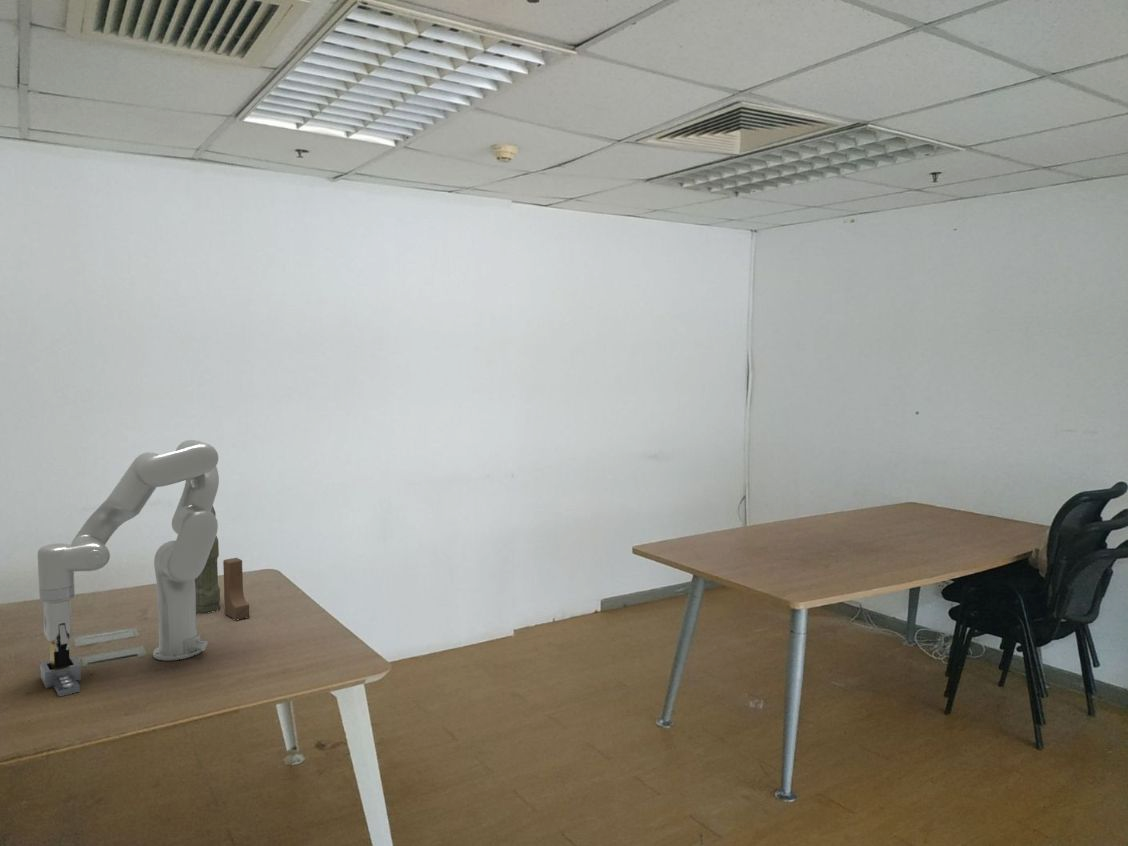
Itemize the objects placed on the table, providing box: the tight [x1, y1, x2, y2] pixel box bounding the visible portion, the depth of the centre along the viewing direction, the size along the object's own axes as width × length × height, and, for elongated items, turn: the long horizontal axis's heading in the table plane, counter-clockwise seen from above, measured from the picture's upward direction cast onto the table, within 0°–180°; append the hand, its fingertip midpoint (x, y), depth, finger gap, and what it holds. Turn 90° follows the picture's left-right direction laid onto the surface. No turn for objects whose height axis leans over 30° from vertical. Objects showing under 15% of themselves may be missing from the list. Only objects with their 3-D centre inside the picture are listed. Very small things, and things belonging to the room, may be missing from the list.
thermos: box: [195, 505, 221, 614], centre depth 252 cm, size 9×12×35 cm
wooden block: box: [222, 557, 250, 621], centre depth 247 cm, size 9×4×18 cm, turn 45°
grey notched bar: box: [39, 656, 82, 698], centre depth 198 cm, size 24×8×4 cm, turn 42°
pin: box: [46, 637, 70, 670], centre depth 197 cm, size 5×5×10 cm
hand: (60, 662), depth 198 cm, fingers closed on pin, 4 cm apart
